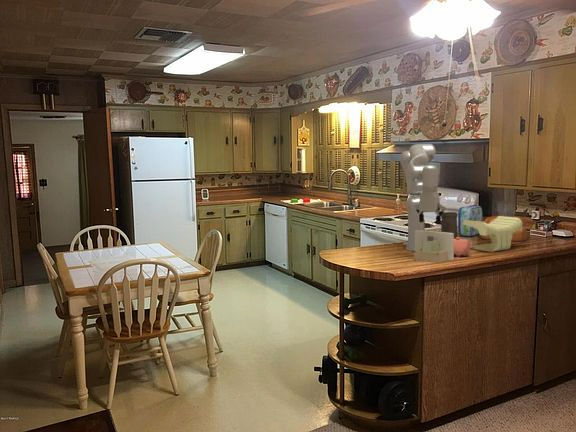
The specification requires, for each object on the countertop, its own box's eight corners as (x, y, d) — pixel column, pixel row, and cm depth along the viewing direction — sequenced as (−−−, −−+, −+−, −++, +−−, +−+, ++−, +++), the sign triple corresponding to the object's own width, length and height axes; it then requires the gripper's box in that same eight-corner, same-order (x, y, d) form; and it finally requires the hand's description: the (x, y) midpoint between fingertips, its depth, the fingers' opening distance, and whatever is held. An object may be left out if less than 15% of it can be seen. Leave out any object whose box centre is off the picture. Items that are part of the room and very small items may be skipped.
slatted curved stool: (486, 254, 264) (486, 222, 263) (463, 250, 278) (463, 219, 277) (521, 248, 278) (522, 218, 277) (498, 245, 292) (498, 216, 291)
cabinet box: (421, 252, 253) (421, 236, 252) (429, 250, 258) (429, 235, 257) (431, 253, 249) (431, 237, 248) (439, 251, 254) (439, 236, 253)
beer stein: (458, 245, 297) (458, 212, 296) (440, 244, 300) (440, 212, 300) (458, 242, 312) (458, 211, 311) (440, 242, 315) (440, 211, 314)
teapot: (443, 257, 260) (443, 238, 259) (444, 253, 271) (444, 235, 270) (471, 258, 255) (471, 239, 254) (471, 254, 266) (471, 236, 265)
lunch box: (468, 232, 351) (468, 203, 349) (483, 233, 344) (484, 204, 342) (455, 236, 331) (455, 206, 328) (471, 238, 324) (471, 206, 322)
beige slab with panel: (404, 258, 260) (404, 232, 259) (416, 255, 268) (416, 230, 267) (441, 263, 244) (441, 235, 243) (453, 259, 252) (453, 233, 251)
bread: (522, 242, 300) (522, 217, 299) (479, 239, 318) (479, 216, 316) (528, 239, 311) (529, 215, 309) (486, 236, 328) (486, 214, 327)
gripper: (411, 190, 254) (411, 222, 255) (441, 190, 241) (441, 224, 243) (419, 189, 259) (419, 220, 260) (448, 189, 246) (448, 223, 248)
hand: (429, 222), depth 252 cm, fingers open, 9 cm apart
